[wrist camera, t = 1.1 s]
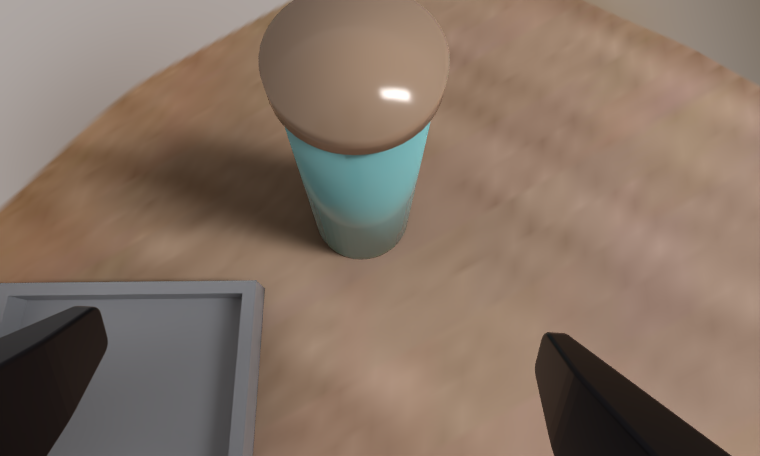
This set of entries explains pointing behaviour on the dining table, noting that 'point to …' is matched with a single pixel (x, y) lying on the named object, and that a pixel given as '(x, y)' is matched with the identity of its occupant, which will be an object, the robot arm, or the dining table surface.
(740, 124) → the dining table surface
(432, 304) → the dining table surface
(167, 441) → the charcoal tray
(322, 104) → the teal jar
